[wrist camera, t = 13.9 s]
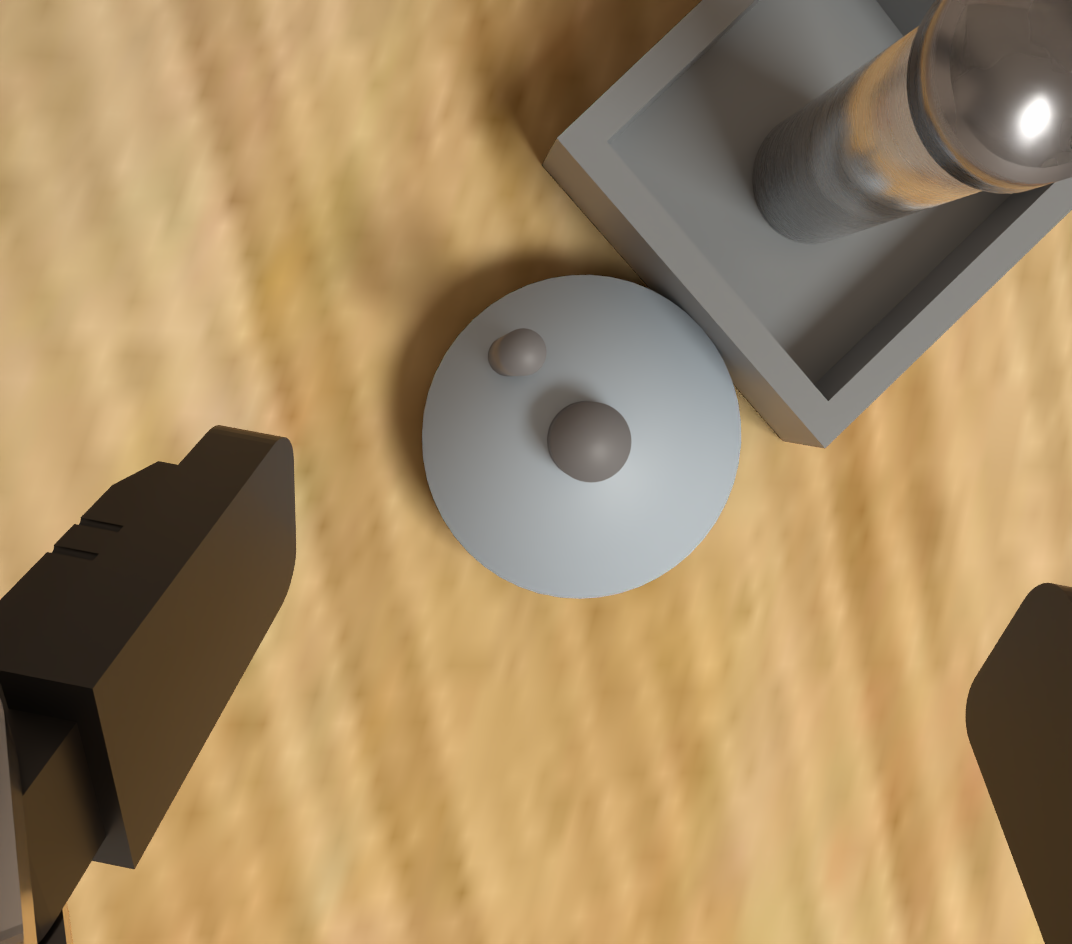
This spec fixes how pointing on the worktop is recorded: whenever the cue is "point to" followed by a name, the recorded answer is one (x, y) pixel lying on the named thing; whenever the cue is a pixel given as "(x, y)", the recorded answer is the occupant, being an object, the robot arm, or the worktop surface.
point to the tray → (744, 235)
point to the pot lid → (581, 436)
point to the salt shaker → (927, 122)
